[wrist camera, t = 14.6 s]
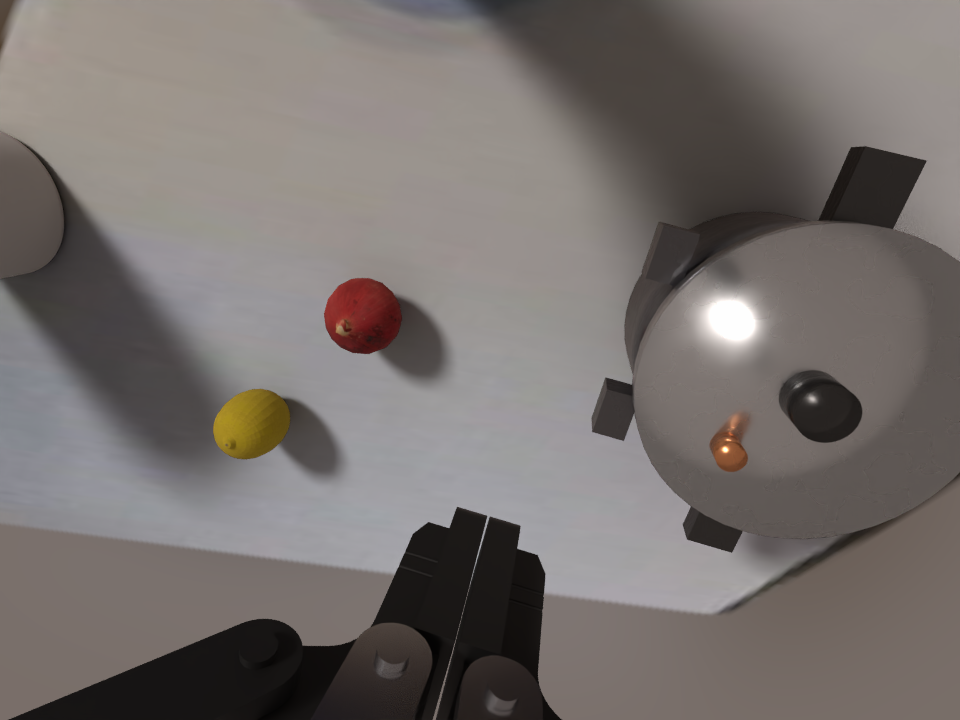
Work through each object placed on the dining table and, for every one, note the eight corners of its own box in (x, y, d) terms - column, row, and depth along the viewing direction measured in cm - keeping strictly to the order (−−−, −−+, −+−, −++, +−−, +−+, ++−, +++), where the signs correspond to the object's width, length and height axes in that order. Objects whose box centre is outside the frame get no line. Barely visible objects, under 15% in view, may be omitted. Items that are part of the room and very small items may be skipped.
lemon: (242, 414, 52) (187, 455, 45) (258, 366, 50) (203, 401, 43) (294, 441, 52) (248, 486, 45) (313, 393, 50) (267, 433, 43)
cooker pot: (669, 122, 38) (706, 105, 27) (938, 187, 37) (1094, 196, 26) (568, 431, 47) (565, 514, 36) (781, 492, 46) (847, 597, 35)
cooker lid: (697, 181, 28) (715, 184, 25) (1063, 271, 27) (1139, 288, 23) (593, 474, 35) (595, 510, 31) (883, 558, 33) (921, 607, 30)
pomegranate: (426, 304, 46) (397, 331, 38) (384, 351, 48) (349, 385, 40) (373, 256, 45) (333, 274, 38) (333, 305, 47) (287, 331, 40)
